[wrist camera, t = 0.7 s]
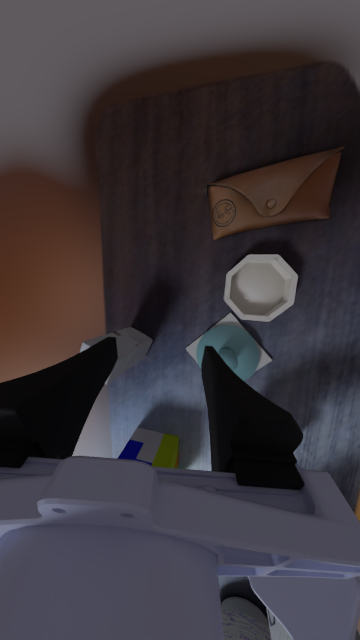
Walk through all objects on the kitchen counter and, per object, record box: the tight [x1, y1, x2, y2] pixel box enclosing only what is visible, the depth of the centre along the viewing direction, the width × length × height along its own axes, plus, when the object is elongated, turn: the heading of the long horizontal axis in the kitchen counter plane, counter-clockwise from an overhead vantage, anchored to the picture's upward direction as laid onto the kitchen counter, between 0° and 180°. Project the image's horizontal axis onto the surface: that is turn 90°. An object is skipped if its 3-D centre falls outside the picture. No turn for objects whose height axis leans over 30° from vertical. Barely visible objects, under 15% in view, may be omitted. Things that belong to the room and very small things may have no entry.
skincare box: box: [80, 327, 153, 385], centre depth 28 cm, size 6×4×12 cm
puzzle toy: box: [118, 427, 179, 469], centre depth 31 cm, size 10×10×10 cm
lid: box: [196, 325, 260, 381], centre depth 27 cm, size 11×11×4 cm
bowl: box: [223, 254, 298, 322], centre depth 25 cm, size 10×10×3 cm
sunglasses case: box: [207, 146, 345, 240], centre depth 24 cm, size 18×7×7 cm
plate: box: [186, 313, 272, 371], centre depth 29 cm, size 11×11×1 cm
